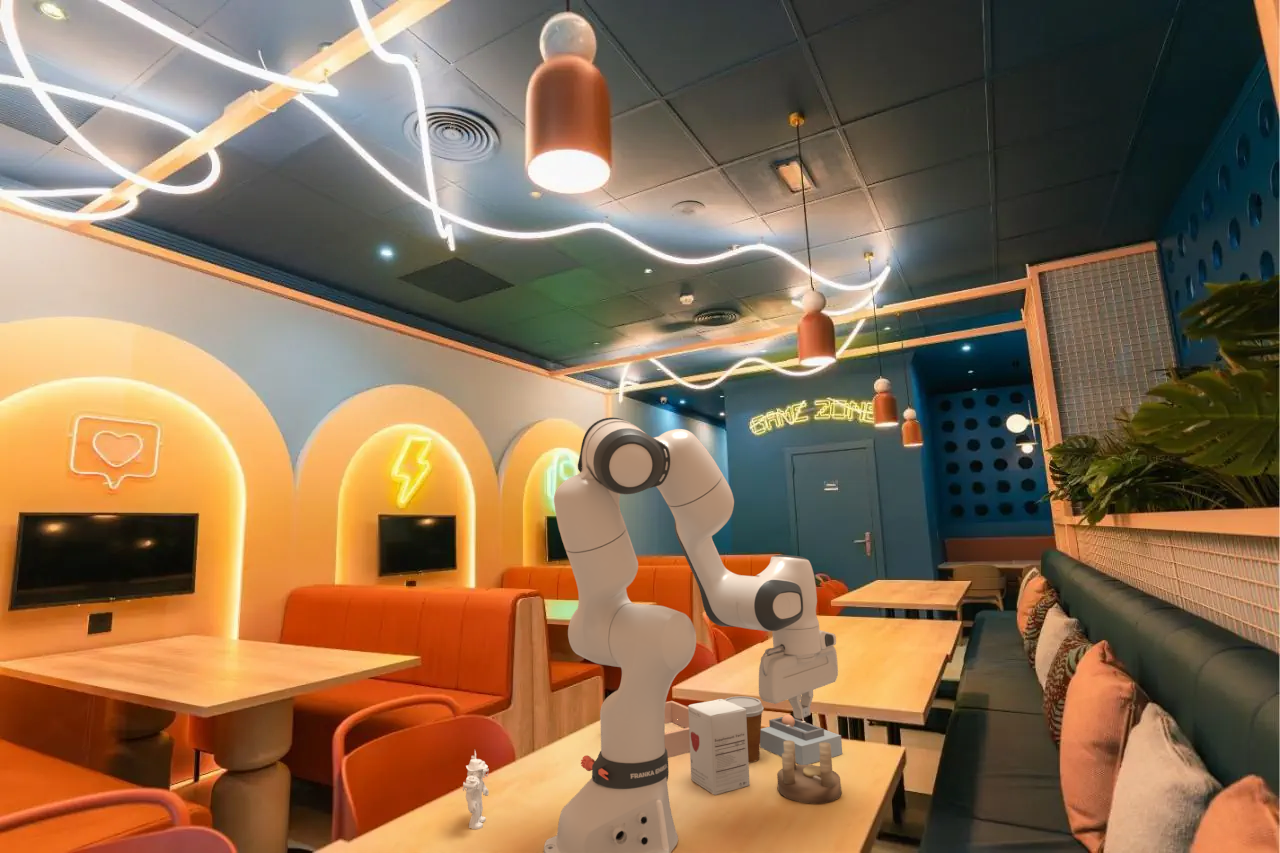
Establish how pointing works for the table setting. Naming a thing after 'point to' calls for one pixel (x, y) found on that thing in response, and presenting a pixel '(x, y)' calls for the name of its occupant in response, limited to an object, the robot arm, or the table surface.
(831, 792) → the dial
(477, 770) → the flower shoulder figurine
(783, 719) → the indicator ball
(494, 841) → the table surface
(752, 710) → the disposable coffee cup
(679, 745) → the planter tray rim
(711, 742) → the supplement box
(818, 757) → the stand
